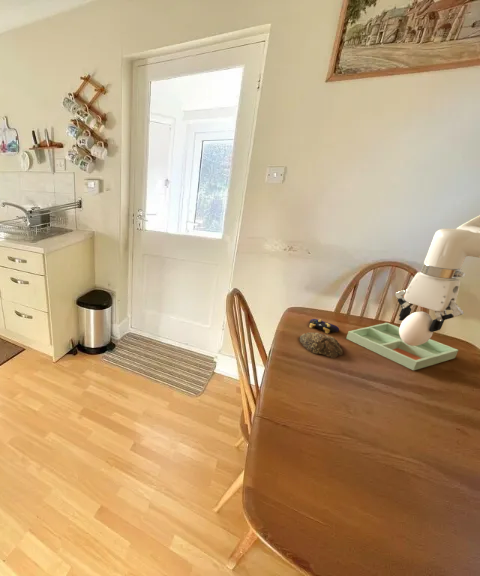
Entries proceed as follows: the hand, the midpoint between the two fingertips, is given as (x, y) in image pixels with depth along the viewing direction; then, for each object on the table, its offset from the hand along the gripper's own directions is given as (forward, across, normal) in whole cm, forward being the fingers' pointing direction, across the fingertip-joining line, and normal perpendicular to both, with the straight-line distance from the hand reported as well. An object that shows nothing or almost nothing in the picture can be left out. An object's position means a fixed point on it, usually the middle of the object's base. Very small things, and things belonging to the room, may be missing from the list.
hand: (417, 324), depth 98 cm
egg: (+7, 0, 0) cm, 7 cm away
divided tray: (+13, +5, -5) cm, 15 cm away
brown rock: (+13, +14, +19) cm, 27 cm away
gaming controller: (+13, +24, +6) cm, 28 cm away
